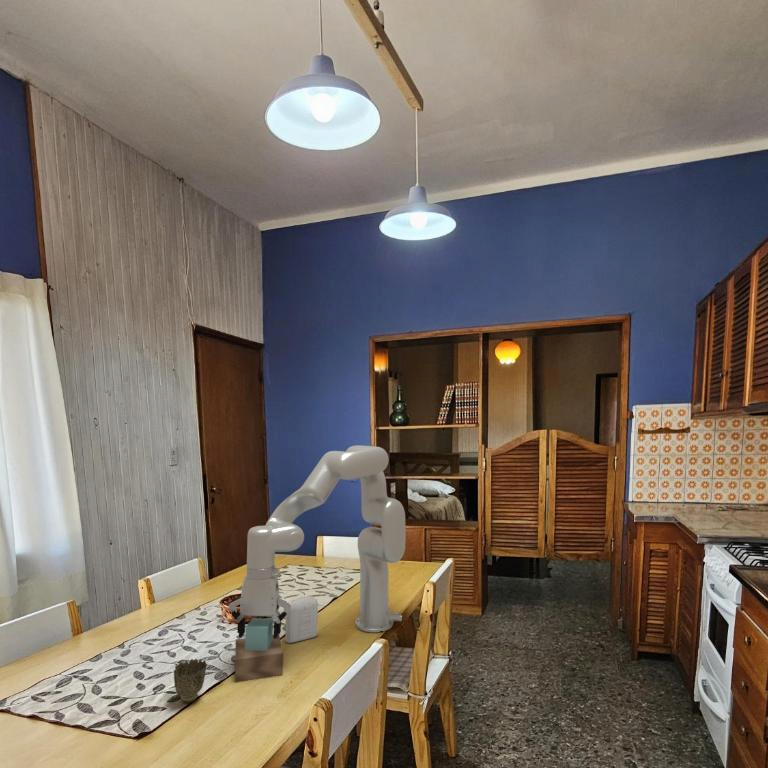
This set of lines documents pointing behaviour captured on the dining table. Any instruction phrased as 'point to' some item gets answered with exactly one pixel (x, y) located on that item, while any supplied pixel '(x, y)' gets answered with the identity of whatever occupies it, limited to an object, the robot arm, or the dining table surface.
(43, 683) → the dining table surface
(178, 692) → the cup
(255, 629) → the teal cube
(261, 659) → the walnut block
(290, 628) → the photo printer
